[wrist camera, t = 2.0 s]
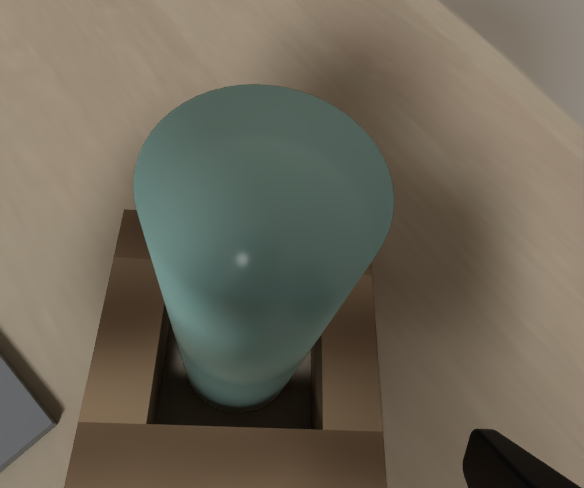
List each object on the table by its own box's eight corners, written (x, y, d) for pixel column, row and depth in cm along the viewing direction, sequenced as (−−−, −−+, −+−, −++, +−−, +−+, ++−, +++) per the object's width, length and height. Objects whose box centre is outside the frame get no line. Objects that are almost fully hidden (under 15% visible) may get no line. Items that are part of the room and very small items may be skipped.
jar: (315, 356, 21) (442, 191, 9) (237, 438, 19) (267, 364, 7) (242, 284, 22) (269, 51, 10) (161, 354, 20) (75, 167, 8)
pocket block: (367, 499, 18) (387, 501, 16) (82, 495, 17) (62, 496, 15) (355, 253, 24) (368, 229, 21) (133, 236, 22) (124, 209, 20)
